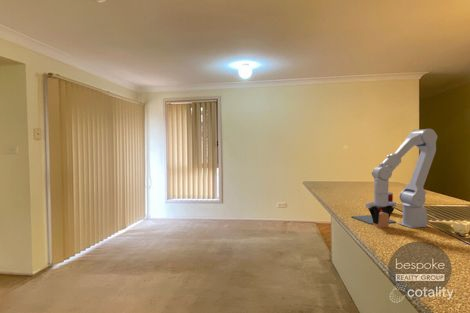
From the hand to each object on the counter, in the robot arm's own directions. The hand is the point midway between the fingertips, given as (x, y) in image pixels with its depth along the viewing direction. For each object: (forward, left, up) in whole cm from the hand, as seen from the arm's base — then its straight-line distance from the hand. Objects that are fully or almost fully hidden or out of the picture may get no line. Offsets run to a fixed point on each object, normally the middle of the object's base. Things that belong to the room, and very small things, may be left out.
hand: (380, 223), depth 135 cm
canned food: (-22, -24, -2) cm, 33 cm away
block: (0, 0, -2) cm, 2 cm away
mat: (-4, -10, -1) cm, 12 cm away
